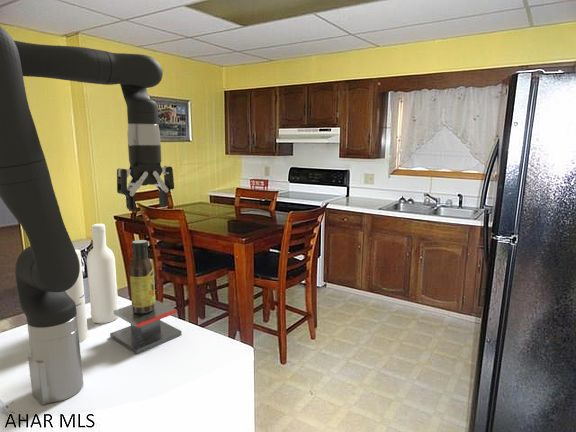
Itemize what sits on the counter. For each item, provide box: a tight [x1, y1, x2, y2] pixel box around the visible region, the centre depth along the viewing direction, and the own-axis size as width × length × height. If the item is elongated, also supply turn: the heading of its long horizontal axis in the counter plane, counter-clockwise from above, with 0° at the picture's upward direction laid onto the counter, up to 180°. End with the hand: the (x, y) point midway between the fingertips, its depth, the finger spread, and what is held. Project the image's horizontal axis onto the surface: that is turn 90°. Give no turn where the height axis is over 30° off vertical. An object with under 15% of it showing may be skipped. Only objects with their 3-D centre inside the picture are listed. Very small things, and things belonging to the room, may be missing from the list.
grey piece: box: [109, 299, 183, 355], centre depth 113 cm, size 14×14×8 cm
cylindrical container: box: [66, 248, 89, 343], centre depth 109 cm, size 7×7×25 cm
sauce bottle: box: [129, 239, 156, 314], centre depth 110 cm, size 6×6×20 cm
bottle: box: [86, 223, 120, 324], centre depth 122 cm, size 8×8×30 cm
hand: (148, 208), depth 100 cm, fingers open, 8 cm apart
